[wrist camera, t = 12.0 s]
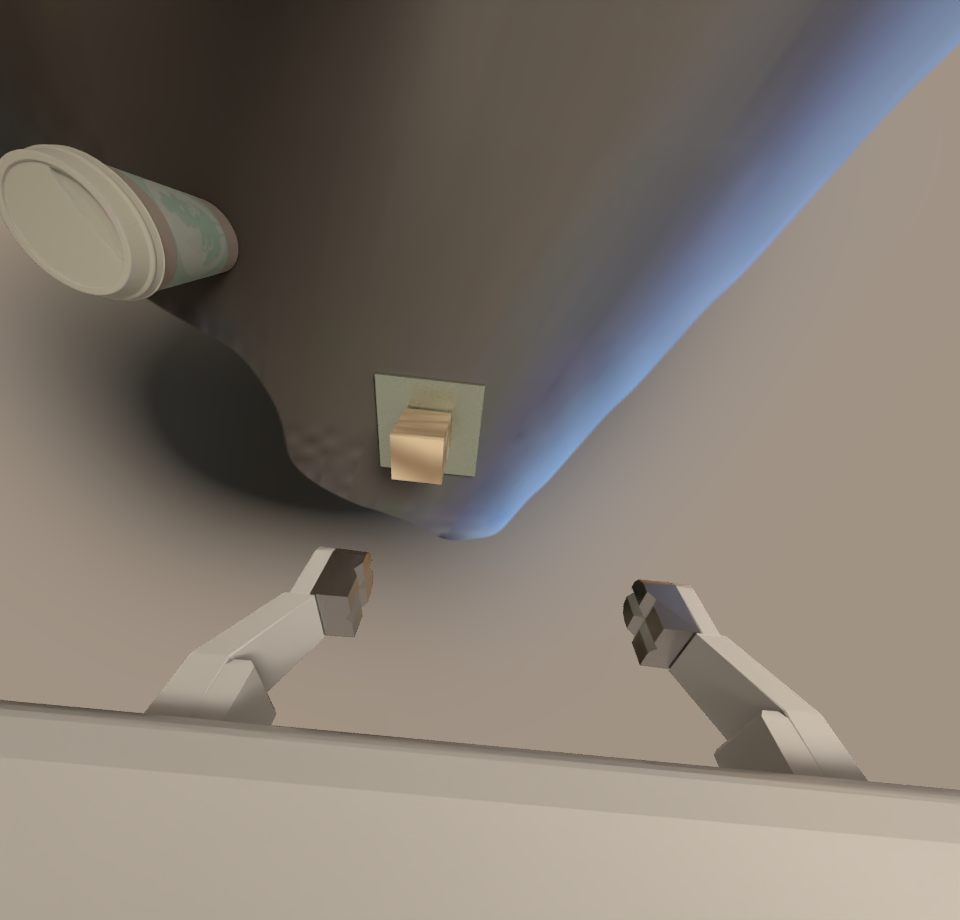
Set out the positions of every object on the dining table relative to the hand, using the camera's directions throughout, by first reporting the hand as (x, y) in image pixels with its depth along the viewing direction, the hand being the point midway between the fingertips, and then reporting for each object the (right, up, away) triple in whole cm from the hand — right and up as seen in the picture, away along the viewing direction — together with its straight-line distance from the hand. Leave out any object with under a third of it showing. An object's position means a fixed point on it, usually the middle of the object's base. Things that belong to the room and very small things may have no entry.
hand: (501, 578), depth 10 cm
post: (-7, +8, +30) cm, 32 cm away
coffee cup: (-26, +24, +21) cm, 41 cm away
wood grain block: (-7, +7, +29) cm, 31 cm away
